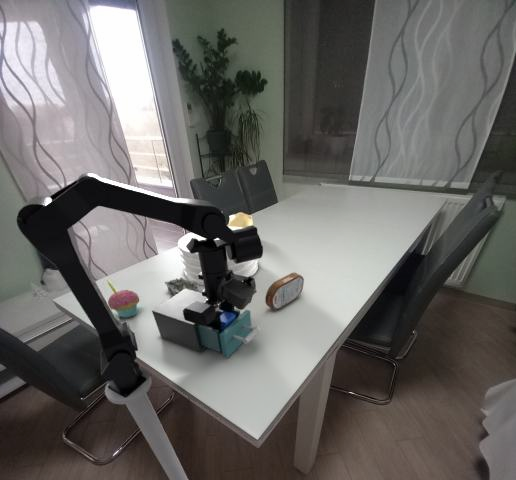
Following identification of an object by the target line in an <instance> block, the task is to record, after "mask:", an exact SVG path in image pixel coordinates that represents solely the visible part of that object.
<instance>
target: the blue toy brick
mask: <svg viewBox="0 0 516 480" xmlns="http://www.w3.org/2000/svg"><path fill="white" fill-rule="evenodd" d="M219 311H222V312H224V313H223V314H222V315H221V316H220V319H221V332H220V333H219V335H220V334H221V333H222V332H223V331H224V330H225V329H226V328H227V327H228V326H229V325H230V324H231V323H232V322H233V321H234V320H235V314H233V313H229V312H226V311H223V310H219ZM212 328H213V329H214V327H213V326H212Z"/></svg>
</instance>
